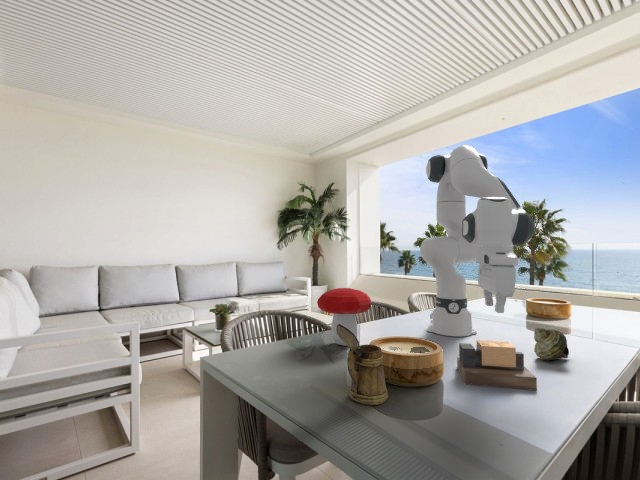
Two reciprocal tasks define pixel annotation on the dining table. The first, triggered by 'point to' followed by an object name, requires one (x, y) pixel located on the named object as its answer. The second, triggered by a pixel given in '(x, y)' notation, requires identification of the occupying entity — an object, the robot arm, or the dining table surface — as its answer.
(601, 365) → the dining table surface
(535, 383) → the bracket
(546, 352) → the seashell
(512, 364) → the slotted cardboard block
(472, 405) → the dining table surface
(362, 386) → the wooden mug
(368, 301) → the mushroom
